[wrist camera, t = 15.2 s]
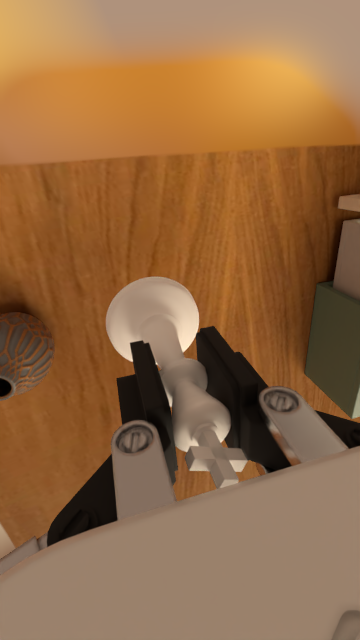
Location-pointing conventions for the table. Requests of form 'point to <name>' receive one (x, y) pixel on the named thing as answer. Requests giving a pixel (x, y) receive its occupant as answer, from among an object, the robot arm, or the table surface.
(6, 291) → the table surface
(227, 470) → the chess piece
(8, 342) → the vase
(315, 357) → the cabinet
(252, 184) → the table surface
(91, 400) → the table surface
